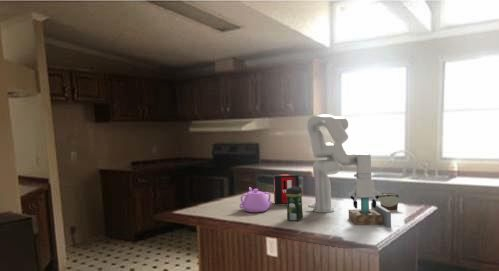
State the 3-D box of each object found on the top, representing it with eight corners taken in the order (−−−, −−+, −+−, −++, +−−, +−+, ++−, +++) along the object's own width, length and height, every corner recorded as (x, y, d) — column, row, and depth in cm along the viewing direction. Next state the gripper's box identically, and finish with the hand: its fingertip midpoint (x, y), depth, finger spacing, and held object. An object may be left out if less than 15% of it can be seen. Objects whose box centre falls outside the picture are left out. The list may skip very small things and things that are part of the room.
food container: (396, 208, 217) (396, 192, 217) (399, 210, 211) (399, 194, 211) (376, 208, 218) (376, 192, 218) (379, 210, 212) (378, 194, 212)
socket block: (355, 225, 179) (355, 215, 179) (348, 218, 193) (348, 209, 193) (382, 224, 179) (382, 214, 179) (373, 217, 193) (373, 209, 193)
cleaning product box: (297, 201, 246) (296, 173, 246) (299, 204, 237) (298, 175, 237) (274, 202, 246) (273, 174, 246) (275, 205, 237) (274, 176, 237)
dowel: (362, 220, 184) (362, 198, 184) (360, 218, 188) (360, 196, 188) (370, 220, 184) (369, 197, 184) (367, 218, 188) (367, 196, 188)
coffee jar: (291, 216, 202) (291, 185, 202) (304, 218, 198) (303, 185, 198) (284, 220, 194) (284, 187, 194) (297, 222, 190) (297, 188, 190)
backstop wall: (387, 227, 174) (386, 211, 174) (371, 216, 198) (371, 202, 198) (391, 227, 174) (390, 211, 174) (375, 216, 198) (374, 202, 198)
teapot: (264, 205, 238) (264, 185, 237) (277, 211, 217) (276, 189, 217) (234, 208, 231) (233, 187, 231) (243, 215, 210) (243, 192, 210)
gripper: (349, 177, 183) (350, 209, 183) (382, 176, 182) (383, 209, 182) (346, 175, 190) (346, 206, 190) (377, 175, 190) (378, 206, 190)
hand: (364, 207), depth 186 cm, fingers open, 9 cm apart
